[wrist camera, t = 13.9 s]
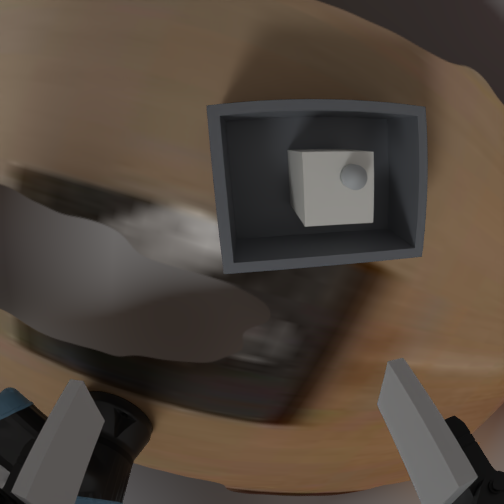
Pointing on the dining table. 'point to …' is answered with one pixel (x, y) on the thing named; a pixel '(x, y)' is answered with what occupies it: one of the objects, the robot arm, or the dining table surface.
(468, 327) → the dining table surface
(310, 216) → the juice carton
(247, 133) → the bin
